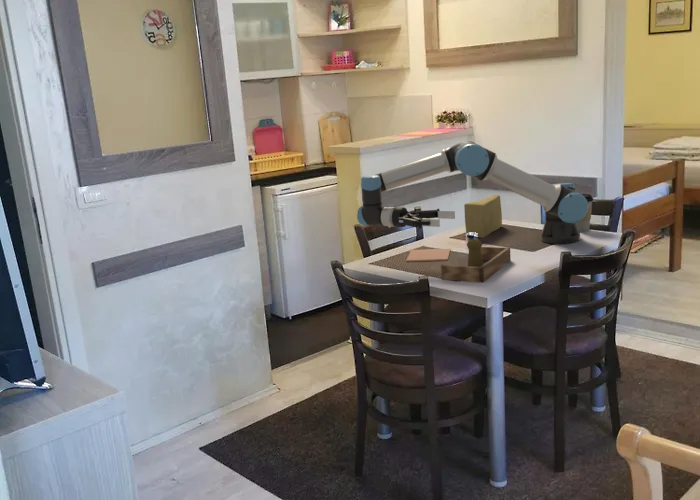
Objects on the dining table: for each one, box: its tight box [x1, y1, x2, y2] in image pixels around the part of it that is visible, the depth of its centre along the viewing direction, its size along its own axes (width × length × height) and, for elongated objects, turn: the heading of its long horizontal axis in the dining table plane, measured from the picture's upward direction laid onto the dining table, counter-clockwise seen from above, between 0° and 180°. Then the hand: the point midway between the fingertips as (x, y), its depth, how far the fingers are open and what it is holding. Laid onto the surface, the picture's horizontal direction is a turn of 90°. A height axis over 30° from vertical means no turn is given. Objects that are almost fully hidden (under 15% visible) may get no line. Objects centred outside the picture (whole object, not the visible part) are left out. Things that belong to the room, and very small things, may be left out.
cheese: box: [464, 194, 503, 239], centre depth 302 cm, size 22×10×15 cm, turn 138°
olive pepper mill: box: [466, 239, 484, 267], centre depth 246 cm, size 6×6×11 cm
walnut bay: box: [440, 245, 511, 283], centre depth 247 cm, size 15×28×5 cm, turn 148°
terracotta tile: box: [405, 247, 451, 263], centre depth 273 cm, size 16×16×1 cm
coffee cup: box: [576, 193, 594, 233], centre depth 289 cm, size 9×9×15 cm
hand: (447, 218), depth 248 cm, fingers open, 13 cm apart
